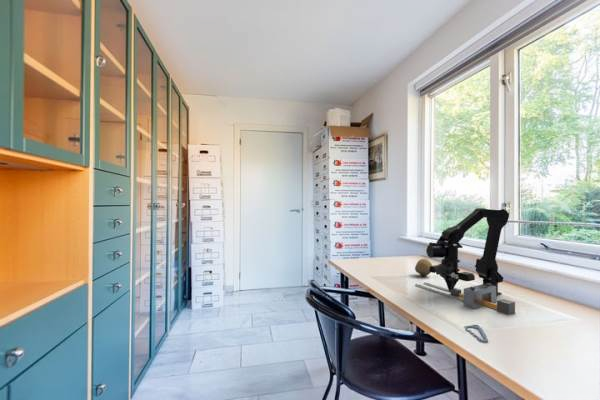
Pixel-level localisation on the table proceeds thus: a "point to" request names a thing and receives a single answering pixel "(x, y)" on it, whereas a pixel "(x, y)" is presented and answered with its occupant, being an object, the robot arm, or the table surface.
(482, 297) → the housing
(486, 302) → the grey-capped orange bar
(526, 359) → the table surface
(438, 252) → the robot arm
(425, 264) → the natural sponge
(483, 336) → the grey curved loop
